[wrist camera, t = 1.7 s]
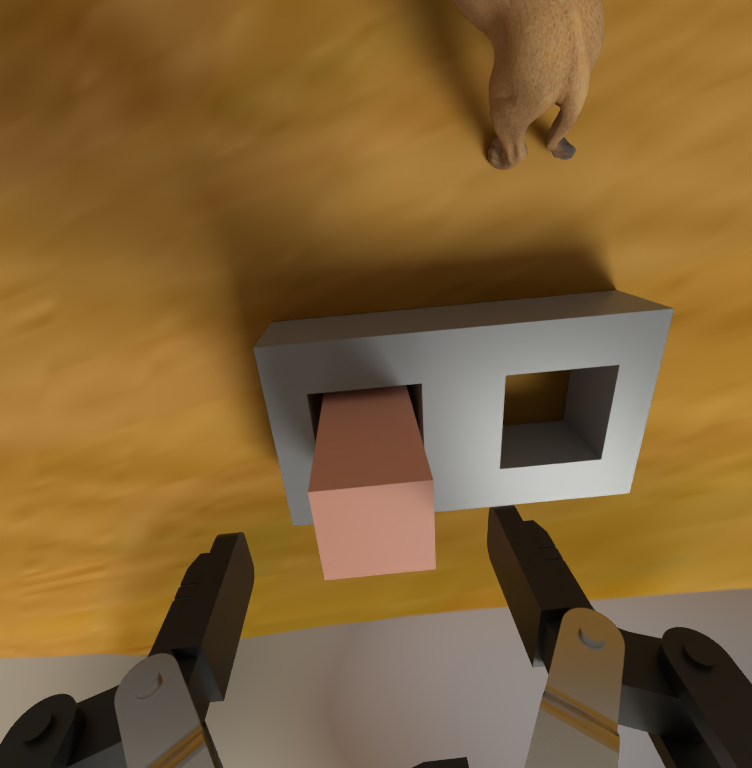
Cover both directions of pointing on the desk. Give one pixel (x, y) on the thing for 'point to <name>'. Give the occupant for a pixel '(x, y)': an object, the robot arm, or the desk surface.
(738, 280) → the desk surface
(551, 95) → the lion figurine
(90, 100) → the desk surface
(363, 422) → the peg
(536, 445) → the pocket board
